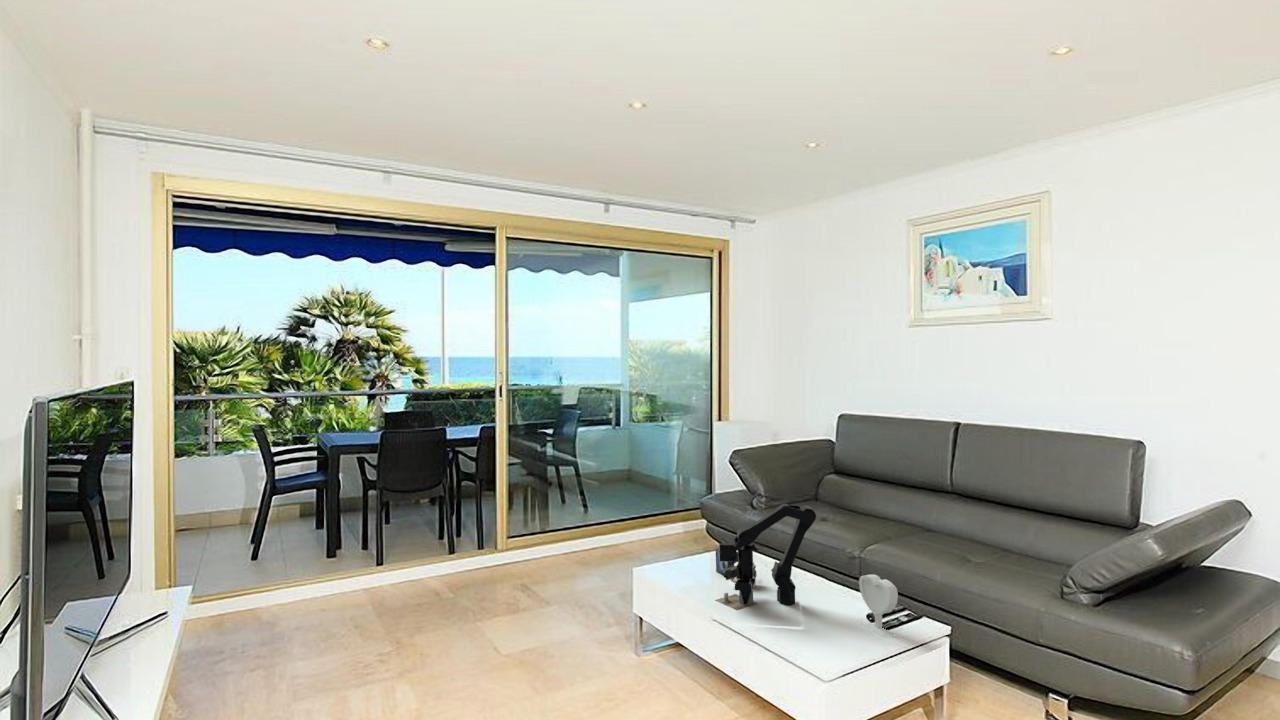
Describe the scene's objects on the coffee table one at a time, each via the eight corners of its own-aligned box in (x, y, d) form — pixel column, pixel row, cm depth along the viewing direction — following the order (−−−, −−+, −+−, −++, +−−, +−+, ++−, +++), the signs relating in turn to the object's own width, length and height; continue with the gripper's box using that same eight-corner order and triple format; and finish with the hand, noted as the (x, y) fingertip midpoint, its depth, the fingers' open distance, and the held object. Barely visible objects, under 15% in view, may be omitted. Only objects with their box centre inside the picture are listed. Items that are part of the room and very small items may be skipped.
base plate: (758, 605, 262) (758, 595, 262) (737, 612, 256) (736, 602, 256) (735, 596, 273) (735, 586, 273) (714, 602, 267) (714, 592, 267)
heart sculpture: (858, 622, 244) (857, 572, 244) (869, 620, 246) (868, 570, 246) (888, 639, 230) (887, 586, 229) (900, 636, 231) (899, 584, 231)
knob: (739, 599, 267) (739, 586, 267) (753, 600, 266) (753, 587, 266) (739, 604, 262) (738, 591, 261) (752, 605, 261) (752, 591, 260)
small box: (715, 571, 304) (714, 548, 304) (727, 569, 307) (726, 546, 307) (727, 578, 294) (727, 554, 294) (740, 576, 297) (739, 552, 297)
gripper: (728, 552, 275) (729, 591, 275) (720, 567, 257) (721, 608, 257) (756, 554, 272) (757, 593, 272) (750, 569, 254) (751, 610, 254)
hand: (746, 601), depth 264 cm, fingers closed on knob, 5 cm apart
